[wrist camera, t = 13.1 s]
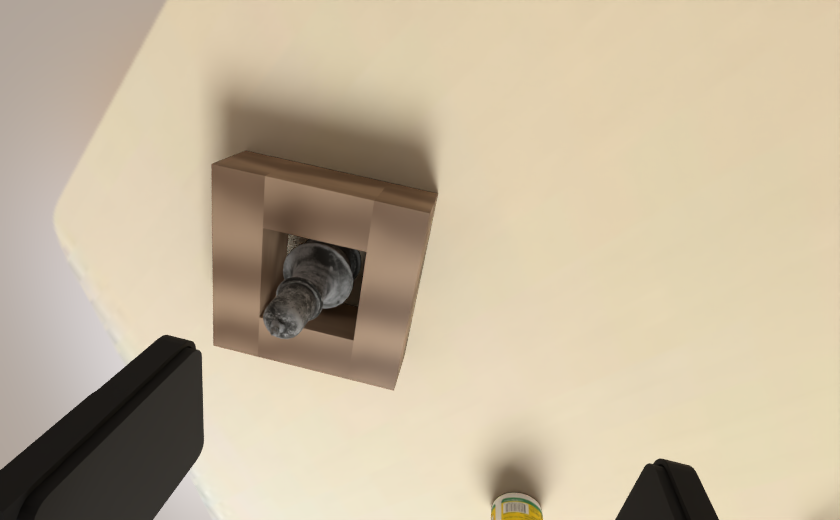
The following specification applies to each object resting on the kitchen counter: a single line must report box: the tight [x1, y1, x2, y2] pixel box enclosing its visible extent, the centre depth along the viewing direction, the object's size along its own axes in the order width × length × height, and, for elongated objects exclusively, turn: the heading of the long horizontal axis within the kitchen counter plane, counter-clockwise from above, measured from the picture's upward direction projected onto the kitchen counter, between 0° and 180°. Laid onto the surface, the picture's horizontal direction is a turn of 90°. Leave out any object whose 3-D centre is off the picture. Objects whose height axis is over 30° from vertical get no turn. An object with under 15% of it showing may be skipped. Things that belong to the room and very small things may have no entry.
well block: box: [212, 151, 438, 390], centre depth 38 cm, size 16×16×5 cm
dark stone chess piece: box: [263, 239, 361, 339], centre depth 35 cm, size 6×6×12 cm
